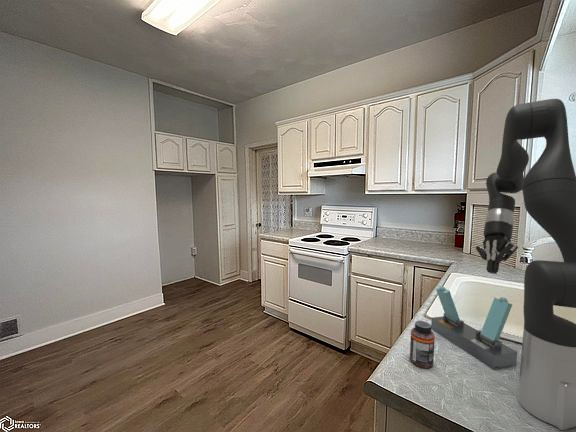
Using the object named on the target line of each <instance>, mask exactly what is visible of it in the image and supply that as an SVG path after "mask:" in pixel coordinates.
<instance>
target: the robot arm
mask: <svg viewBox="0 0 576 432" xmlns="http://www.w3.org/2000/svg"><path fill="white" fill-rule="evenodd" d="M567 117H568V115H567V109H566V106H565V104H564V102H563V101H562V100H561V99H559V98H549V99H542V100H538V101H531V102H525V103H519V104H516V105H513V106H512V107H510V109H509V110H508V112H507V114H506V117H505V121H504V128H503V134H502V135H503V136H502V142H501V143H502V144H501V155H500V159H499V162H498V165H497V168H496V172H492V173H491V174H489V175H488V177H487V178H486V179H485V180H486V182H485V185H486V189H487V193H488V200H489V201H488V208H487V213H486V216H485V221H484V228H483V238H484V240H483V241H482V244H481V245H480V246H479V245H476V246H475V250H476V251H477V252H478V254H479V256H480V257H481V259H482V260H484V261H486V262H487V263H486V272H487V273H489V274H495V275H497V274H498V272H499V267H500V264H501V262H506V261H507V260H508V259H510V257H511V256H512V255H513V254H514V253H515V252H516V251H518V249H519V247H518V246H517V245H516V244H513V243H512V238H513V230H514V224H515V223H514V222H515V207H516V199H515V198H514V197H513V196H511V195H507V194H517V193H520V192H521V191H522V195H523V197H522V198H523V203H524V208H525V210H526V212H527V214H528V215H529V216H530V217H531V218H532V219H533V221H535V222H536V223H537V224H538V225H539V226H540V227H541V228H542V229H543V230H544V231H545V232H546V233H547V234H548V235H549V236H550V237H551V238H552V239H553V240H554V242H555V244H556V245H557V247H558V249H559V250H560V253H561V257H562V259H563V261H555V260H554V261H552V260H541V259H540V260H537V259H536V260H532V261H530V262H529V263H528V264H527V266H526V268H525V272H524V278H523V279H524V280H523V282H524V283H523V289H524V290H523V292H524V293H523V294H524V295H523V296H524V297H523V319H524V320H523V321H524V322H523V331H522V332H523V333H522V343H521V356H520V368H519V378H518V388H517V391H518V392H517V401H518V403H519V404H520V406H521V407H522V408H524V410H526V411H527V412H528V413H529V414H531V415H532V416H534V417H536V418H537V419H539V420H541V421H542V422H545V423H548V424H551V425H552V426H554V427H556V428H558V430H560V431H565V430H568V429H573V428H576V323H575V322H573V321H571V320H569V319H566V318H564V317H561V316H558V315H556V314H554V306H556V307H564V308H571V309H572V308H573V309H576V172H575V166H574V164H573V159H572V154H571V149H570V141H569V139H570V138H569V129H568V128H569V127H568V126H569V125H568V118H567ZM538 138H544V139H545V142H546V143H545V148H544V149H543V151H542V154H541V155H540V156H539V158H537V160H536V162H535V163H534V164H533V165H532V166H531V168H529V170H528V172H527V173H526V174H525V176H524V172H525V170H526V169H527V167H528V165H529V160H530V156H529V153H528V151H527V150H526V149H525V148H524V147H523V146H522V145H521V144H520V143H519V140H529V139H538ZM505 193H506V194H505Z"/></svg>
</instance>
